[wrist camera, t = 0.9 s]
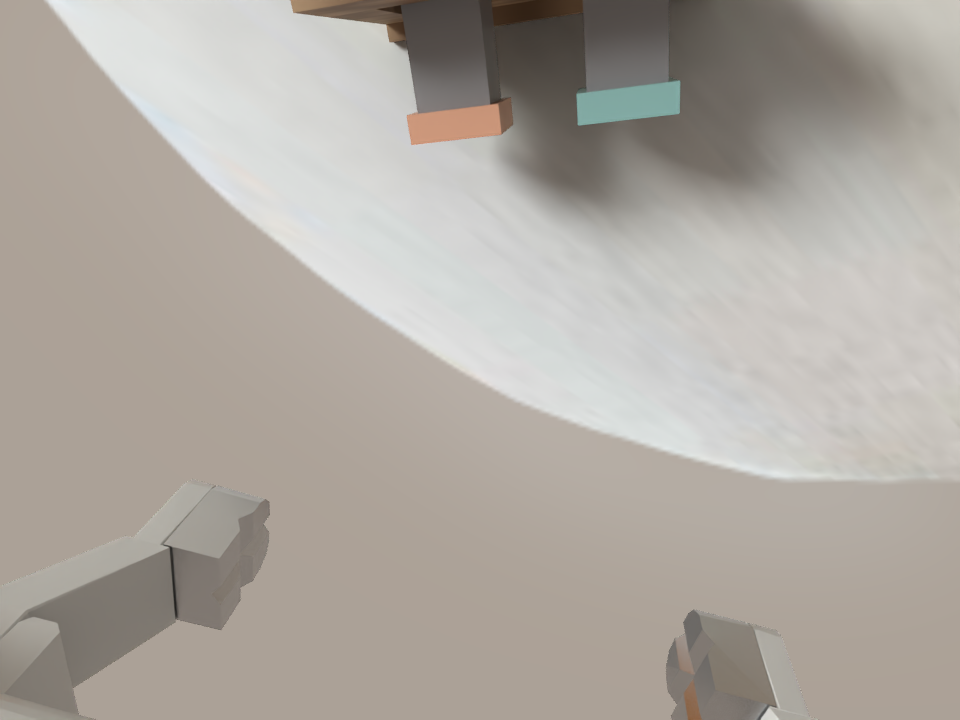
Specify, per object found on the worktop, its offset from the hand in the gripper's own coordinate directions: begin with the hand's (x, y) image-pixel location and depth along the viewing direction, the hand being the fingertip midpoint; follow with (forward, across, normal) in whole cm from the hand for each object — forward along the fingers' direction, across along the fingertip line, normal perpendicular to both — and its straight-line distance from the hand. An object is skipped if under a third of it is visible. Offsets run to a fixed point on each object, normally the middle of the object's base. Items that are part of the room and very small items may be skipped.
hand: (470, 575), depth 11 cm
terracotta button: (+30, +7, -8) cm, 32 cm away
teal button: (+30, -2, -11) cm, 32 cm away
